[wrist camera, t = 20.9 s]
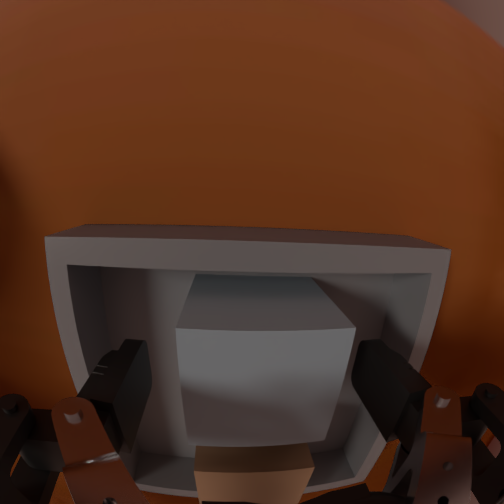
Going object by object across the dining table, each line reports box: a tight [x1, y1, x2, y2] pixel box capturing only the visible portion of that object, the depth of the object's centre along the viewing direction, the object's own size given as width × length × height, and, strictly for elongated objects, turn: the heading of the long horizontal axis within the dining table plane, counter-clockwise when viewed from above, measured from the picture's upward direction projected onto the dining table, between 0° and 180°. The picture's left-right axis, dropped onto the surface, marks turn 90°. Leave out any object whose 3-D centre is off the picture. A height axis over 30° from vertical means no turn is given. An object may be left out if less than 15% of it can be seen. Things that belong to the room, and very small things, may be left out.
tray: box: [45, 224, 451, 497], centre depth 12 cm, size 16×16×4 cm
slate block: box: [175, 274, 356, 447], centre depth 10 cm, size 5×5×5 cm
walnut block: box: [194, 443, 315, 504], centre depth 12 cm, size 5×5×5 cm
